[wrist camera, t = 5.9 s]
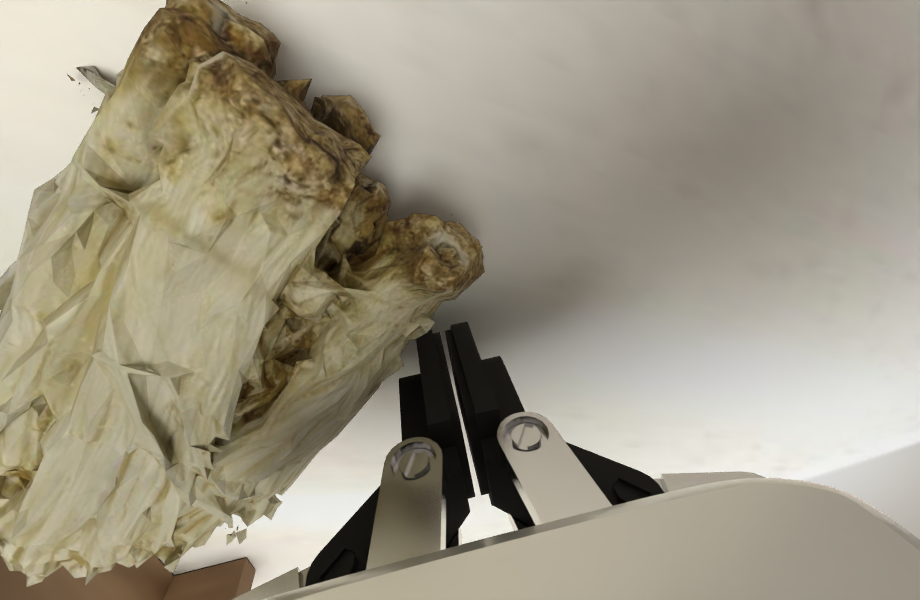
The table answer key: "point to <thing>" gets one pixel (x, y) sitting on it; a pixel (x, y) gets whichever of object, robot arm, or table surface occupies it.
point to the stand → (133, 583)
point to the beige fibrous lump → (199, 302)
